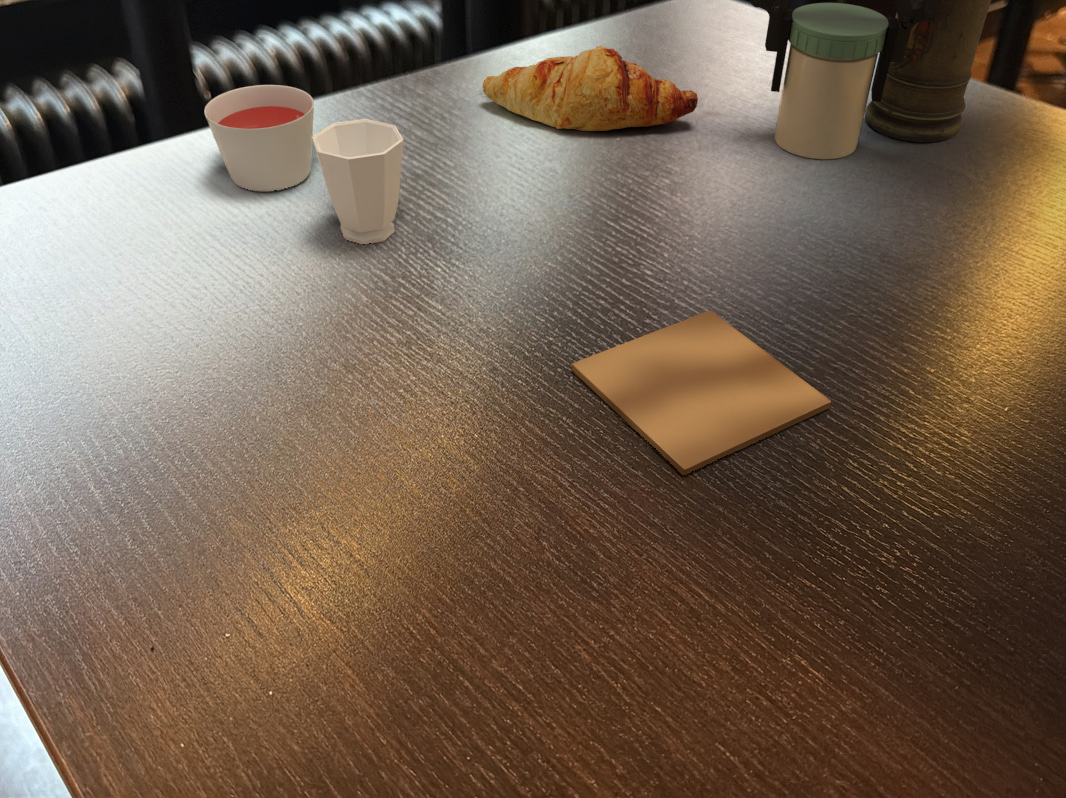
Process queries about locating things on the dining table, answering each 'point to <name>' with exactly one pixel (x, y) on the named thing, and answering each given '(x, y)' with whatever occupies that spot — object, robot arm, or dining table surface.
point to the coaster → (699, 390)
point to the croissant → (589, 93)
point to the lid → (838, 30)
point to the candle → (263, 135)
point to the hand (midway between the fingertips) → (825, 90)
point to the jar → (823, 104)
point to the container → (931, 75)
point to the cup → (362, 176)
